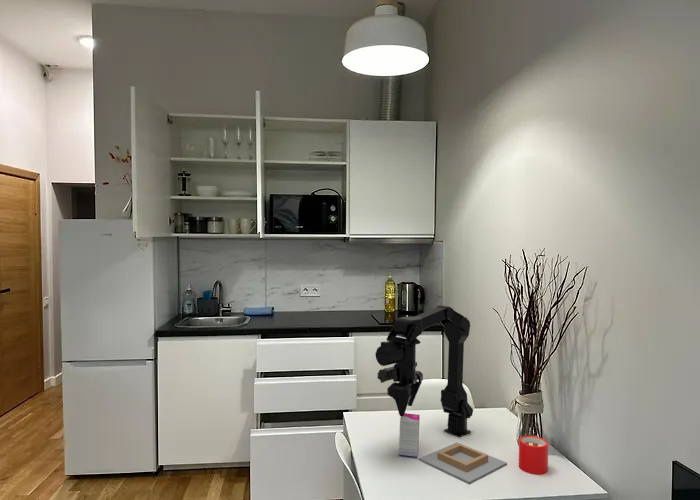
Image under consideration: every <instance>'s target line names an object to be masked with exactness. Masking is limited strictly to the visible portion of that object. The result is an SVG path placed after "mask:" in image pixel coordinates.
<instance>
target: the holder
mask: <svg viewBox="0 0 700 500" xmlns="http://www.w3.org/2000/svg"><path fill="white" fill-rule="evenodd" d="M418 461H419V462H422V463H424V464H426V465H428V466H431V467H432V468H435V470H436V469H437V470H439V471H441V472H443V473H444V474H447V475H449V476H451V477H453V478H456V479H458V480H460V481H462V482H464V483H466V484H467V485H471V484H473V483H474V482H477V481H478V480H481V479H482V478H484V477H486V476H487V475H490V474H491V473H493V472H495V471H498V470H500V469H501V468H504V467H505V466H507V465H508V463H507V462H506V461H504V460H502V459H499V458H496V457H494V456H493V455H489V454H487V453H485V452H482V451H479V450H477V449H475V448H472V447H469V446H467V445H465V444H463V443H460V442H455V443H453V444H450V445H447V446H445V447H442V448H440V449H438V450H435V451H433V452H430V453H429V454H426V455H423V456H421V457H419V458H418Z"/></svg>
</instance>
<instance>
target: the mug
mask: <svg viewBox="0 0 700 500" xmlns="http://www.w3.org/2000/svg"><path fill="white" fill-rule="evenodd" d="M548 465H549V442H548V441H547V440H546V439H544V438H542V437H539V436H538V435H523V436H521V437H519V440H518V468H519V469H520V470H521V472H524V473H526V474H530V475H533V476H534V475H538V476H540V475H546V474H547V473H548V471H549V466H548Z"/></svg>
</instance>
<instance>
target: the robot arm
mask: <svg viewBox="0 0 700 500" xmlns="http://www.w3.org/2000/svg"><path fill="white" fill-rule="evenodd" d="M438 323H440V324H441V325H442V326H443V331H444V332H443V333H444V335H445V337H446V339H447V341H448V351H447V352H448V359H447V384H446V386H445V387H444V389H441V391H440V402H441V403H440V404H441V406H442V411H443V413H445V414H448V416H447V417H448V418H447V428H446V429H444V431H443V432H446V433H448V434H450V435H452V436H455V437H459V438H461V437H464V436H465V435H468V434H470V433H471V432H472V431H471V430H469V429H468V419H471V417H472V416H473V413H474V409H473V407H472V406H471V405H470V404H469V403H468V393H467V392H466V390H465V387H464V386H463V382H464V381H463V380H464V379H463V377H464V350H465V347H464V346H465V342H466V341H467V338H469V336H470V329H471V322H470V320H469V319H468V318H467V317H465V316H464V315H462V314H460V313H459V312H457V311H455V310H454V309H453V307H451V306H448V305H442V304H441V305H437V306H436V307H434V308H432V309H429V310H427V311H424V312H422V313H420V314H417V315H414V316H401V317H398V318H396V319H395V320H394V323H393V325H392V327H391V329H390V331H389V333H388V335H387V337H386V341H380V346H378V347H377V348H376V351H375V354H374V355H375V358H376V362H377V363H378V365H380V366H381V367H385V368H383V369H381V368H380V369H379V370H378V372H377V379H378V380H379V381H380V383H381V384H382V383H385V382H388V381H391V380H392V381H393V383H391V384H390V385H389V386H388V387H387V389H386V390H387V392H386V393H387V396H389V397H390V398H393V399H394V401H395V405H396V407H397V411H398V415H399V416H400V417H401V416H404V413H406V411H407V407H412V406H413V404H414V401H415V399H416V396H417V395H418V392H419V390H420V387H421V385H422V382H423V381H424V374H423V373H422V372H421V371H419V370H417V369H416V367H417V366H418V362H417V361H416V357H417V356H416V353H417V352H416V350H417V348H416V346H417V345H420V344H421V341H420V340H419V339H418V337H419V336H420V335H422V334H423V331H424V330H425V329H427V328H430V327H431V326H434V325H437V324H438ZM390 365H393V366H390ZM386 366H390V367H386Z"/></svg>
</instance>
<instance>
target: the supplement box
mask: <svg viewBox="0 0 700 500" xmlns="http://www.w3.org/2000/svg"><path fill="white" fill-rule="evenodd" d="M420 416H421V415H420V414H415V413H407V412H405V413H404V416H400V418H399V439H398V440H399V441H398V457H399V458H410V459H418V455H419V446H420V445H419V440H420Z"/></svg>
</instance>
